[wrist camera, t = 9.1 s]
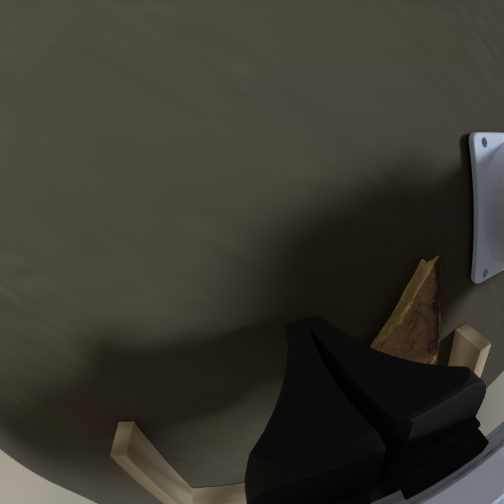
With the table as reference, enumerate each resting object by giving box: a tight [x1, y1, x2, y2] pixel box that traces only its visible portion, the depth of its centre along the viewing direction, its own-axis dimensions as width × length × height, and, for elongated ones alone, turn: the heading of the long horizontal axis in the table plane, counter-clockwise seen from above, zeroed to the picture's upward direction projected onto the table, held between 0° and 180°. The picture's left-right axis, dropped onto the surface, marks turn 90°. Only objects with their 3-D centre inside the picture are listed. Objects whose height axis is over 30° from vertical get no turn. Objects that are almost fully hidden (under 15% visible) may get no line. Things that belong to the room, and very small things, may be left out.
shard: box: [370, 256, 441, 365], centre depth 13 cm, size 11×8×2 cm
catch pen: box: [110, 324, 491, 504], centre depth 13 cm, size 21×10×2 cm, turn 102°
